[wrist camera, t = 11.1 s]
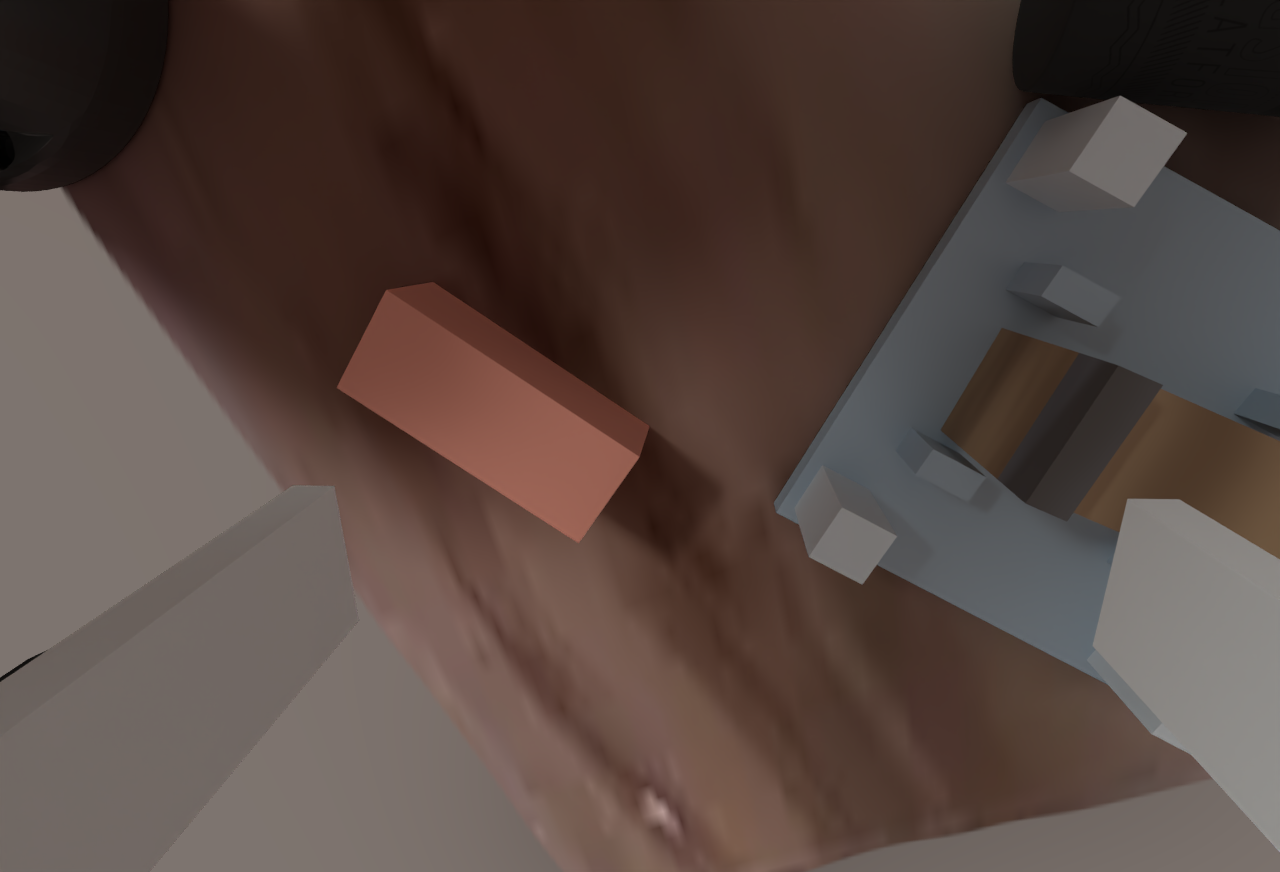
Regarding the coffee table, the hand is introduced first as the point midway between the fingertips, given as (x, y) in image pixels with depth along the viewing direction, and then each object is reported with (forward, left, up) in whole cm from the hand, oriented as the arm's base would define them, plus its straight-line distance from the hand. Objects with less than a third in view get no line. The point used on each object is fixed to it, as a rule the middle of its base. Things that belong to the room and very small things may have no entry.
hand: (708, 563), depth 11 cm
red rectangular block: (-6, -4, -15) cm, 17 cm away
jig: (+13, +5, -15) cm, 20 cm away
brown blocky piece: (+13, +5, -14) cm, 19 cm away
